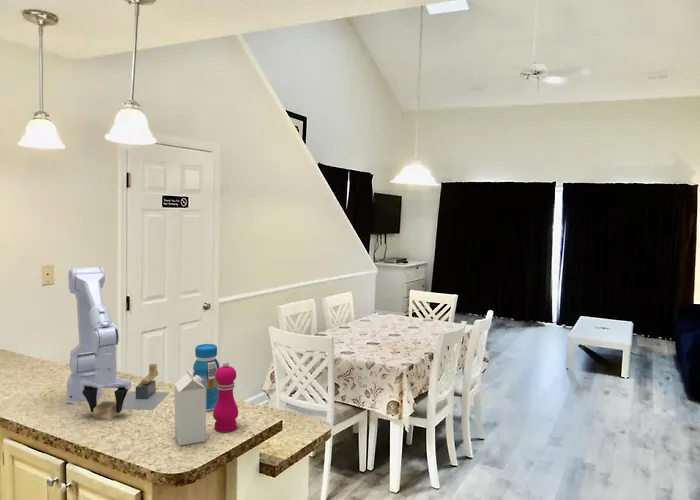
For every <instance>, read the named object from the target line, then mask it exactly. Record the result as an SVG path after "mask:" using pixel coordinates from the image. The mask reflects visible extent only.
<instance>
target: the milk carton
mask: <svg viewBox="0 0 700 500" xmlns="http://www.w3.org/2000/svg"><path fill="white" fill-rule="evenodd" d="M186 371H187V372H186V373H185V374H184V375H183V376H182V377H181V378H180V379H179V380H177V382H175V384H174V437H175V439H176V441H177V444H178V446H179V447H180V446H186V445H191V444H197V443H204V442H206V441H207V440H206V439H207V437H206V435H207V434H206V433H207V427H206V426H207V419H206V418H207V415H206V414H207V411H206V389H205V387H204V386H203V384H202V383H201V381H202V378H201V377H199V376H198V375H196V376H195V377H194V376H193V373H192V372H191V371H190V369H189V368H187V369H186Z"/></svg>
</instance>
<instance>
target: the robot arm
mask: <svg viewBox="0 0 700 500" xmlns="http://www.w3.org/2000/svg"><path fill="white" fill-rule="evenodd" d="M67 278H68V290H69V293H70V294H73V295H75V299H76V310H77V328H78V341H79V342H78V345H76V346H75V347H74V348H72V349H71V350H70V353H69V355H70V356H69V358H70V359H69V369H70V372H71V373H70V375H69V376H68V377H67V381H66V398H67V399H66V401H65V403H66V404H74V403H76V402H78V401H79V402H80V401H81V402H87V404H88V406H89V408H90V409H89V410H90V412H91V413H93V409H94V408H95V407H96V406H97V405H98V399H100V397H101V389H116V390H115V391H114V392H113V393H114V397H115V402H116V412H117V413H118V414H120V412H121V411H122V410H123V409H122V406H123V402H124V399H125V396H126V394H127V393H128V392H129V390H130V389H131V388H132V380H124V379H120V378H119V379H118V378H117V345H119V341H120V339H119V338H120V335H119V330H118V327H117V326H116V325H115V323H113V321H112V317H111V314H110V310H109V308H108V307H106V306H104V301H103V295H102V294H103V293H102V288H103V287H104V283H105V281H106V273H105V269H104V268H103V267H102V266H92V267H91V266H90V267H89V266H88V267H87V266H86V267H70V269H69V270H68V277H67ZM122 412H123V411H122Z"/></svg>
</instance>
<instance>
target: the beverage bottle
mask: <svg viewBox="0 0 700 500" xmlns="http://www.w3.org/2000/svg"><path fill="white" fill-rule="evenodd" d="M194 351H195V353H194V355H195V358H196V359H195V361H194V363H193V364H192V365H193V366H192V370H193V372H192V375H193V376H194V377H195V376H196V375H198V376H199V377H201V378H202V381H201V383H202V384H203V386H204V387H205V389H206V412H210V411H213V410H214V407H215V405H216V402H217V400H218V394H219V391H218V389H217V383H218V381H217V380H216V378H215V373H216V371H217V369H218V368H220V363H219V360H218V359H217V358H216V357H217V356H218V346H217V345H216V344H213V343H201V344H198V345H196V346H195V350H194Z"/></svg>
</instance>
